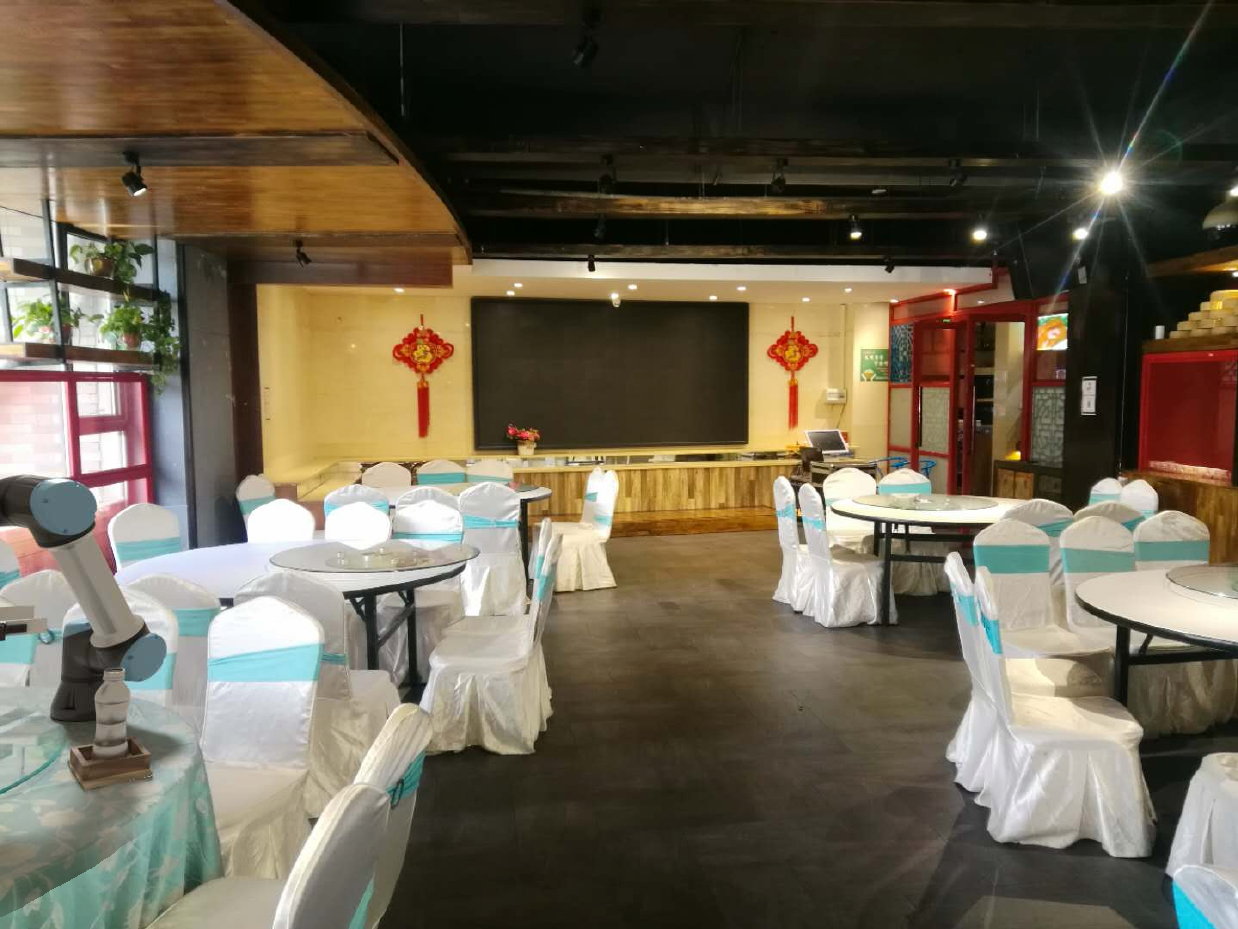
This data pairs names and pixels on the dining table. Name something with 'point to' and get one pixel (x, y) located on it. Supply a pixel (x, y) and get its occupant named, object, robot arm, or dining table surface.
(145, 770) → the open wooden box
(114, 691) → the plastic bottle
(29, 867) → the dining table surface
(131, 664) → the robot arm
